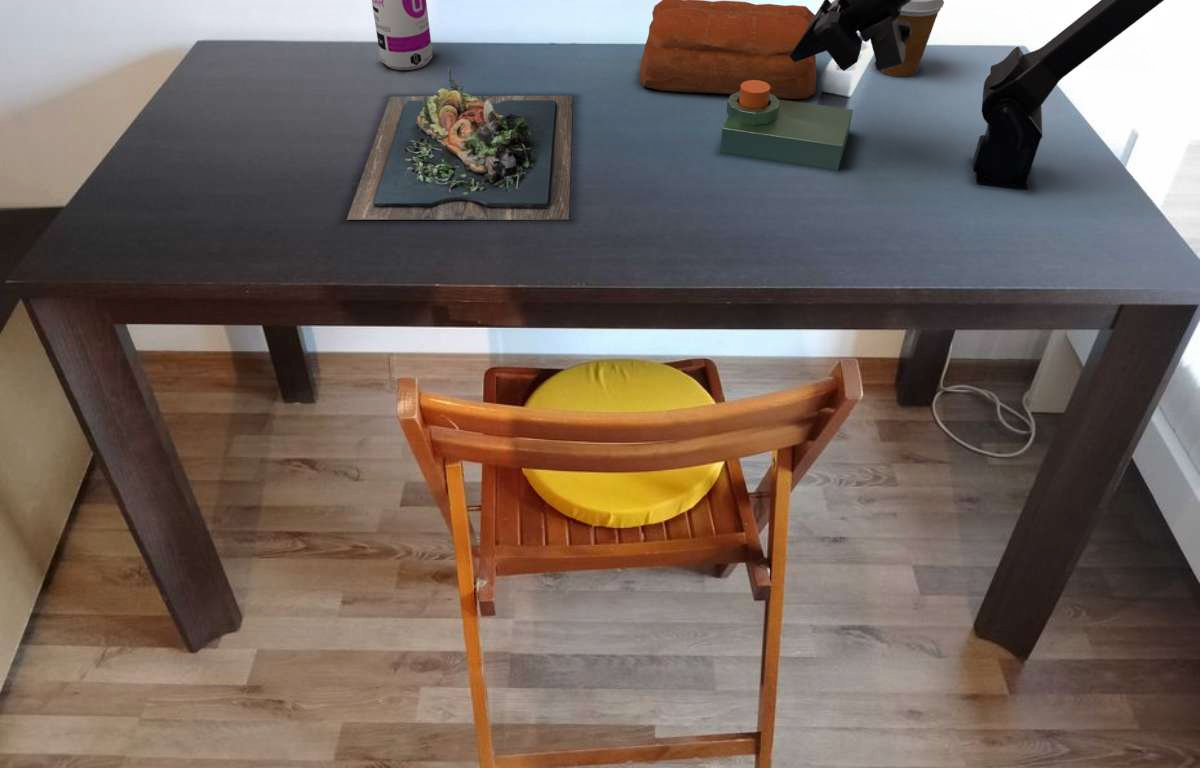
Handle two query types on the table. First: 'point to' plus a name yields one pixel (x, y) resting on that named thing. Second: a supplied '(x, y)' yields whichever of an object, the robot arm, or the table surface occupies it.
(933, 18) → the disposable coffee cup
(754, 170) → the table surface
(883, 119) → the table surface
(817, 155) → the block
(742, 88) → the button
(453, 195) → the plated dish
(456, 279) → the table surface
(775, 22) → the bread
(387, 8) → the supplement can
